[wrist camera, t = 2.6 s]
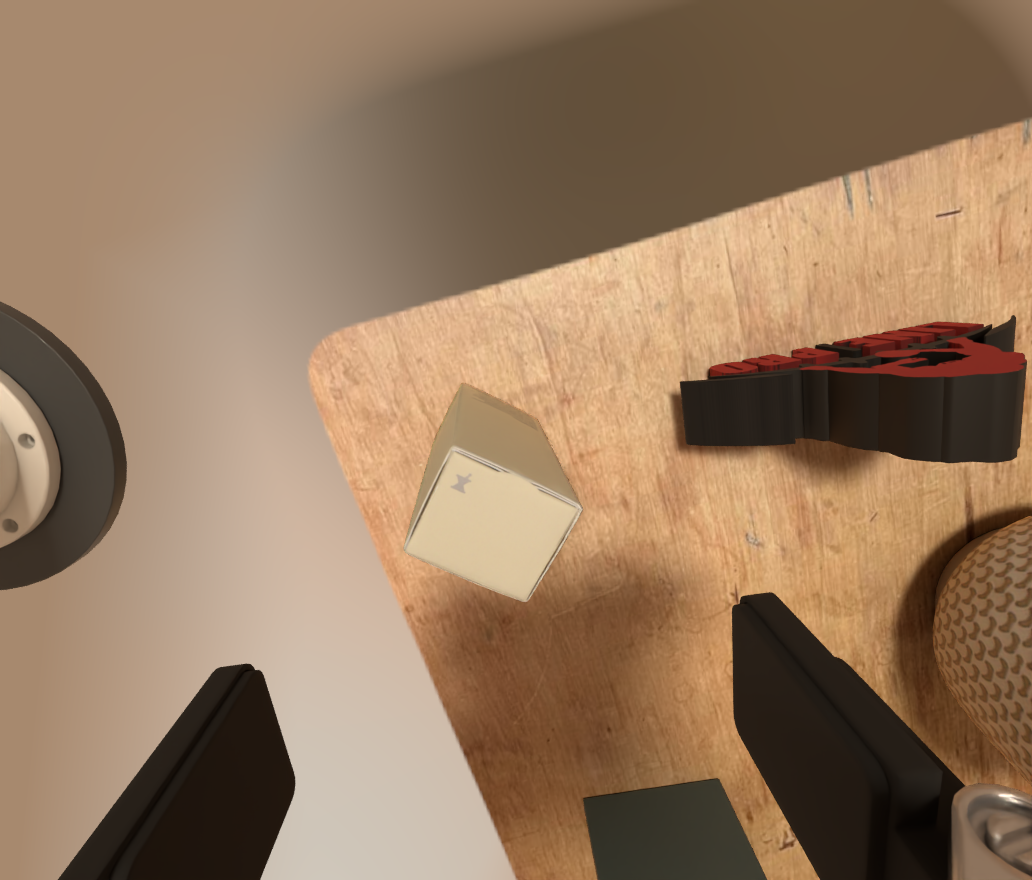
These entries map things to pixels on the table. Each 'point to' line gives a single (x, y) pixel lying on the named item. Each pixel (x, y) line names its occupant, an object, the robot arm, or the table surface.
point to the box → (492, 498)
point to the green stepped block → (670, 835)
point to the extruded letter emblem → (873, 395)
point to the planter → (990, 637)
